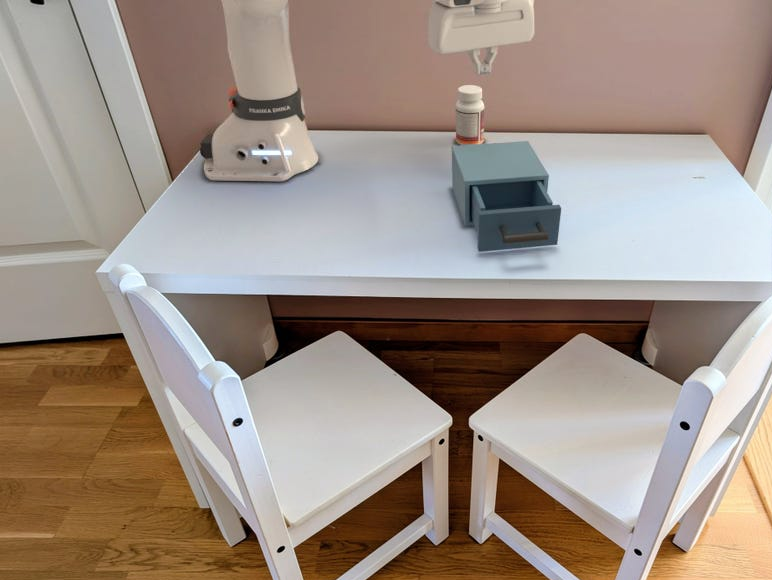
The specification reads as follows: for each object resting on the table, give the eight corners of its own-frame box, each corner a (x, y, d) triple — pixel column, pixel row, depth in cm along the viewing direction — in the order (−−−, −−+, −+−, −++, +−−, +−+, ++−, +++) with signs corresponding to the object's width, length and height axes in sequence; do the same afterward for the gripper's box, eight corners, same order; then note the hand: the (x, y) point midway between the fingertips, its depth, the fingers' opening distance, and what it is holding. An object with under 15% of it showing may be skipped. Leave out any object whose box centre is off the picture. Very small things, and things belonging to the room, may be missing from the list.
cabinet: (544, 220, 110) (549, 175, 104) (465, 226, 108) (464, 181, 102) (525, 183, 120) (528, 140, 115) (452, 189, 118) (451, 145, 112)
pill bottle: (472, 134, 138) (472, 81, 131) (489, 142, 135) (490, 89, 127) (450, 140, 135) (449, 87, 128) (467, 150, 132) (467, 96, 124)
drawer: (565, 259, 99) (569, 221, 94) (483, 267, 97) (484, 229, 92) (536, 206, 112) (539, 171, 107) (464, 212, 110) (464, 176, 105)
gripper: (525, -22, 110) (520, 60, 119) (422, -11, 102) (426, 76, 111) (544, -15, 106) (538, 70, 115) (439, -4, 98) (441, 86, 107)
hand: (482, 73), depth 113 cm, fingers closed
